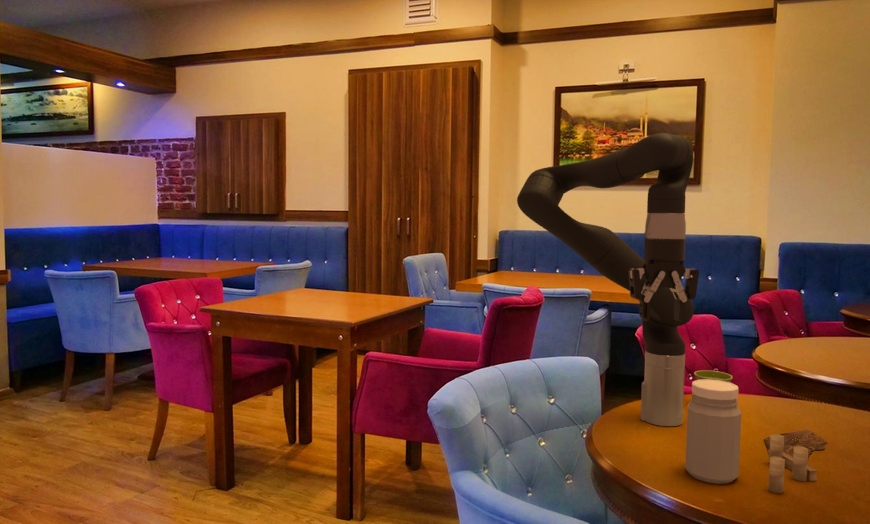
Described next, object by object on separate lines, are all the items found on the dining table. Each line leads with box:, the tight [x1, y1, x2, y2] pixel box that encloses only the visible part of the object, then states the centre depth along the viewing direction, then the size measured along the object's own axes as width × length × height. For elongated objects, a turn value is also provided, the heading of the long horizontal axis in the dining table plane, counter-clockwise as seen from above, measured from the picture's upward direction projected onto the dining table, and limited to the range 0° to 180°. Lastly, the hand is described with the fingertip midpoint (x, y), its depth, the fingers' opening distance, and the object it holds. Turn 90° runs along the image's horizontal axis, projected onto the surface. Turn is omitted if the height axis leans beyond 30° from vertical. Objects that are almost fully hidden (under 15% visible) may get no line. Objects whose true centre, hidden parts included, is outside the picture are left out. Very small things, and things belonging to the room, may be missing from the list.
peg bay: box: [768, 433, 818, 494], centre depth 126 cm, size 12×18×6 cm, turn 7°
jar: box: [685, 379, 742, 485], centre depth 124 cm, size 10×10×18 cm
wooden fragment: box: [763, 429, 828, 458], centre depth 142 cm, size 26×11×1 cm, turn 132°
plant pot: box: [693, 369, 733, 383], centre depth 169 cm, size 9×9×9 cm
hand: (662, 320), depth 127 cm, fingers open, 6 cm apart
